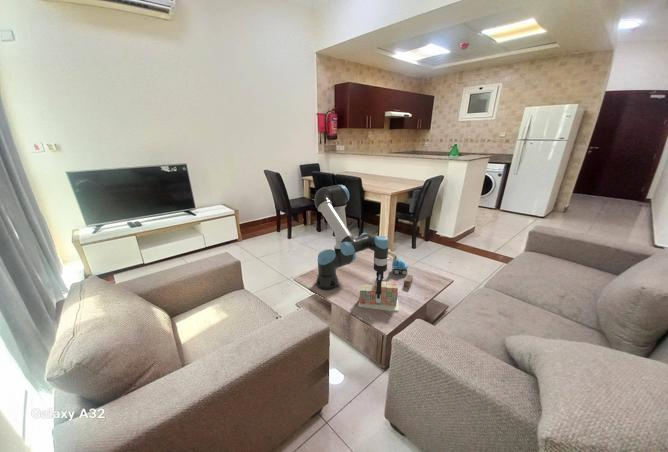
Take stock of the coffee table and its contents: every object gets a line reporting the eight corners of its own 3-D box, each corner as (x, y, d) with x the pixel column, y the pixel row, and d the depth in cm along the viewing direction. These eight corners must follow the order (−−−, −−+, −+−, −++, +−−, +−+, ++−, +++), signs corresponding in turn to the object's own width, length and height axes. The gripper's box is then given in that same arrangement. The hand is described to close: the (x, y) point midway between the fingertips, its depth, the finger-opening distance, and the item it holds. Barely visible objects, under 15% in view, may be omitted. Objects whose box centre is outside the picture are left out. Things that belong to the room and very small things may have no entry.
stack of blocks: (359, 303, 151) (359, 286, 147) (359, 297, 157) (360, 280, 153) (396, 306, 149) (398, 288, 144) (395, 299, 155) (396, 281, 150)
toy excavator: (384, 267, 192) (385, 247, 186) (407, 269, 189) (408, 248, 183) (384, 273, 184) (385, 252, 178) (408, 275, 181) (410, 253, 175)
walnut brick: (403, 286, 169) (404, 280, 167) (406, 280, 175) (406, 274, 173) (409, 288, 167) (410, 281, 165) (412, 282, 174) (412, 275, 172)
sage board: (358, 306, 150) (358, 305, 150) (360, 296, 160) (360, 295, 159) (398, 311, 146) (398, 310, 145) (398, 300, 155) (398, 299, 154)
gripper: (386, 275, 131) (384, 309, 138) (388, 253, 153) (386, 283, 161) (371, 274, 132) (370, 307, 140) (375, 252, 155) (374, 282, 162)
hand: (378, 295), depth 150 cm, fingers open, 13 cm apart
